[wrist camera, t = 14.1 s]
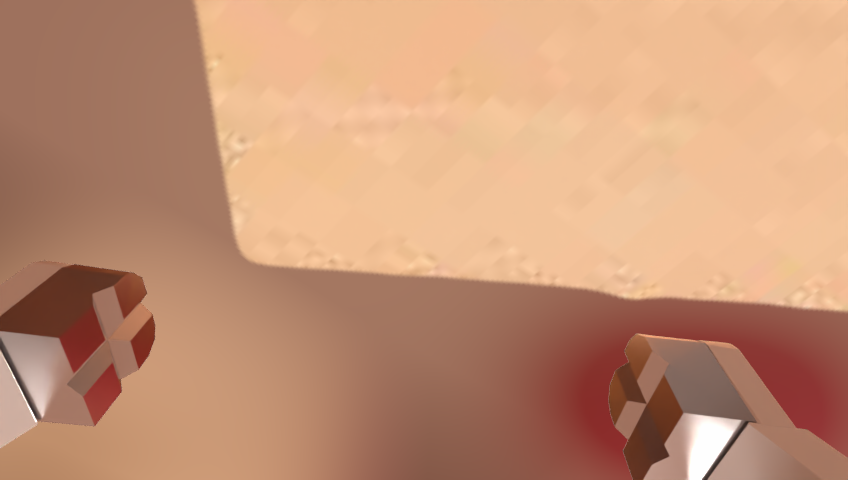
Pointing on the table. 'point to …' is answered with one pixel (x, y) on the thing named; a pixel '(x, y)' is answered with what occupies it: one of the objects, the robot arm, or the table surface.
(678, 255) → the table surface
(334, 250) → the table surface
